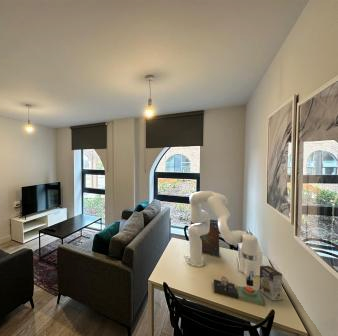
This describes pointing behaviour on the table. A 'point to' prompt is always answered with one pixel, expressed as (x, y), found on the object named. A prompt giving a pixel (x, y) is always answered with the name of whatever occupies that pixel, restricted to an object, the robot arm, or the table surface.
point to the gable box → (258, 262)
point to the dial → (224, 282)
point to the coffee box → (270, 282)
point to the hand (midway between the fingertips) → (249, 285)
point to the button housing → (249, 295)
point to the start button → (249, 289)
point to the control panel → (225, 289)
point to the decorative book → (211, 239)
